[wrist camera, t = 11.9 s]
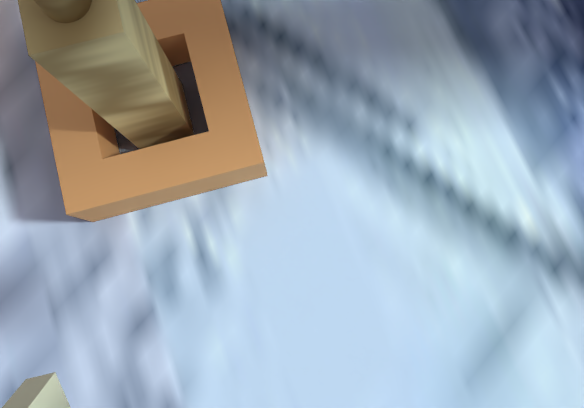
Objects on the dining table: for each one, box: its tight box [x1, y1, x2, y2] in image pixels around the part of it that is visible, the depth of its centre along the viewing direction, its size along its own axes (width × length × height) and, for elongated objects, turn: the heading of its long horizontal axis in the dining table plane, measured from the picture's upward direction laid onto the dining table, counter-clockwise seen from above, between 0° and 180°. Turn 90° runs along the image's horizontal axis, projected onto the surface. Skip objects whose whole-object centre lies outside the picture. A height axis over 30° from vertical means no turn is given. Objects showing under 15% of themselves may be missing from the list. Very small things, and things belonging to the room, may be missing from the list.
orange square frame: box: [35, 0, 267, 222], centre depth 29 cm, size 11×11×4 cm
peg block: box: [18, 0, 195, 149], centre depth 23 cm, size 4×4×15 cm
